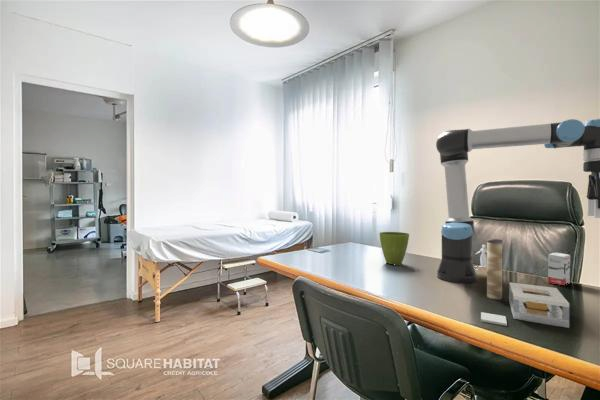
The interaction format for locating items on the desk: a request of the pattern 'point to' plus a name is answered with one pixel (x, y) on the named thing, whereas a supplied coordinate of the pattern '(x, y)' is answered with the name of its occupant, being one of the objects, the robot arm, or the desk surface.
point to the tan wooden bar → (494, 268)
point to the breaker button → (536, 305)
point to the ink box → (559, 268)
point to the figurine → (483, 256)
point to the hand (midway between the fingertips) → (595, 216)
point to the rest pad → (493, 319)
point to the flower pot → (394, 246)
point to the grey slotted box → (537, 315)
